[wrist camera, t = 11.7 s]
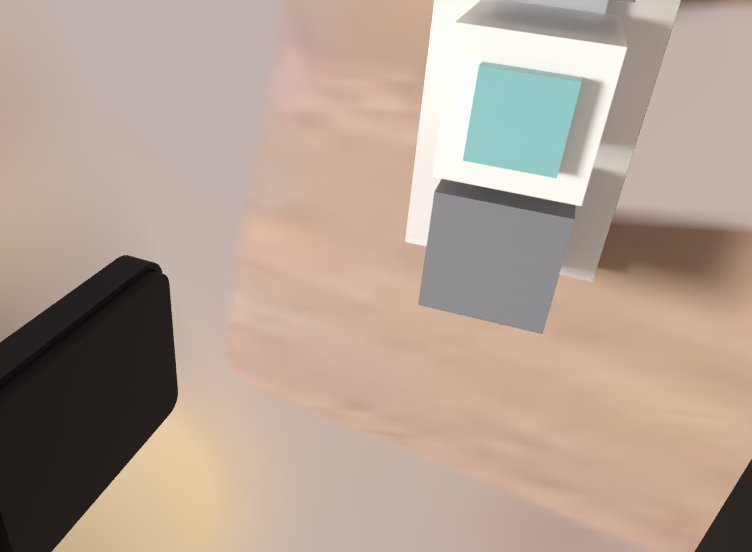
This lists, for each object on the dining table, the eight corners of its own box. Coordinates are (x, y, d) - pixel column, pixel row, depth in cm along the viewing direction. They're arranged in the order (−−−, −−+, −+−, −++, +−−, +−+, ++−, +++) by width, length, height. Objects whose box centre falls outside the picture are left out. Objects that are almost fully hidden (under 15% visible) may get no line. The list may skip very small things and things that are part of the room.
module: (584, 147, 25) (581, 213, 20) (462, 125, 26) (428, 183, 21) (620, 15, 23) (628, 51, 17) (484, -3, 24) (451, 25, 18)
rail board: (592, 266, 30) (591, 356, 24) (412, 228, 32) (370, 303, 26) (736, -197, 21) (793, -238, 15) (468, -214, 23) (422, -256, 17)
